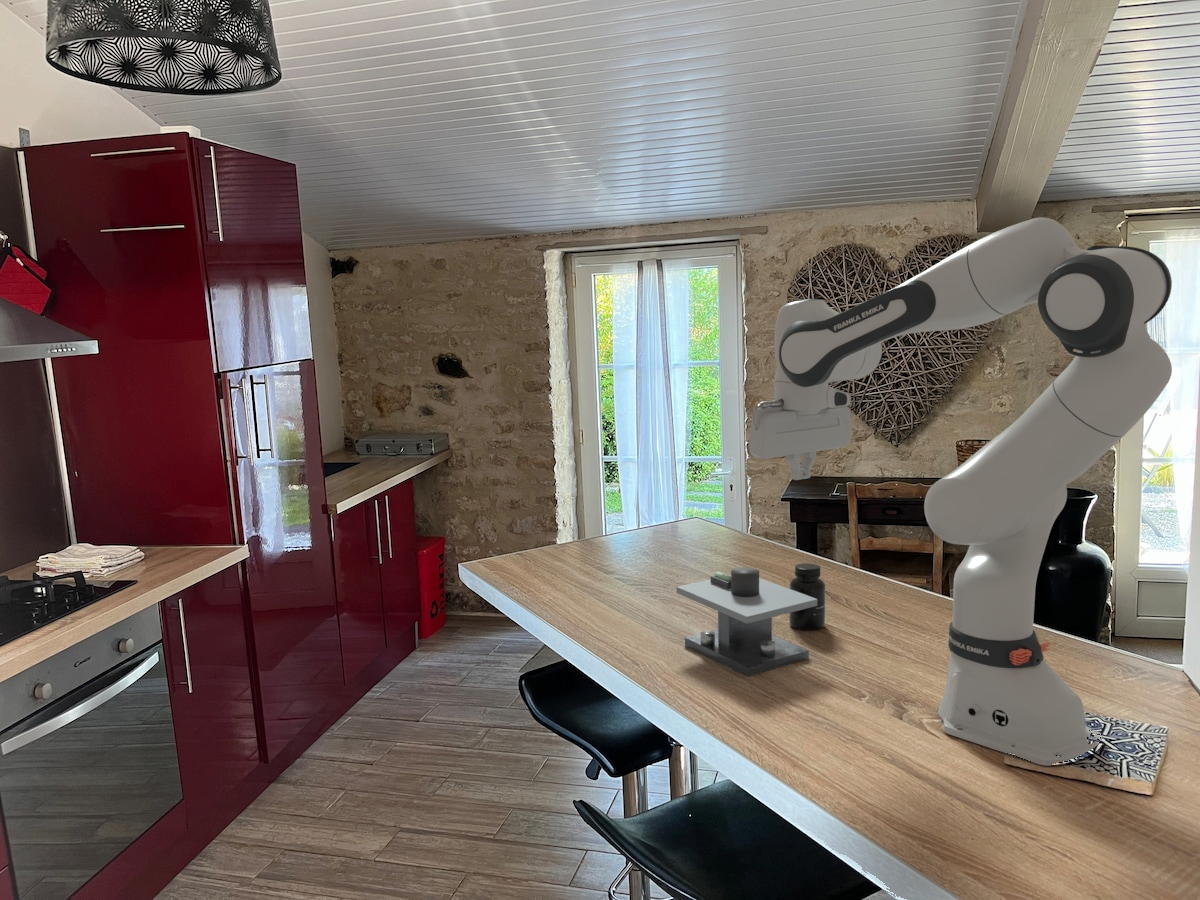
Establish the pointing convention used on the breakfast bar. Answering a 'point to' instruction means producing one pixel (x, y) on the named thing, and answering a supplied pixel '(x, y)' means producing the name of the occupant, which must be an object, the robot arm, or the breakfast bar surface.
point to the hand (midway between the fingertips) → (800, 478)
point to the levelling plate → (748, 605)
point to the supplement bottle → (812, 587)
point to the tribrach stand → (746, 646)
